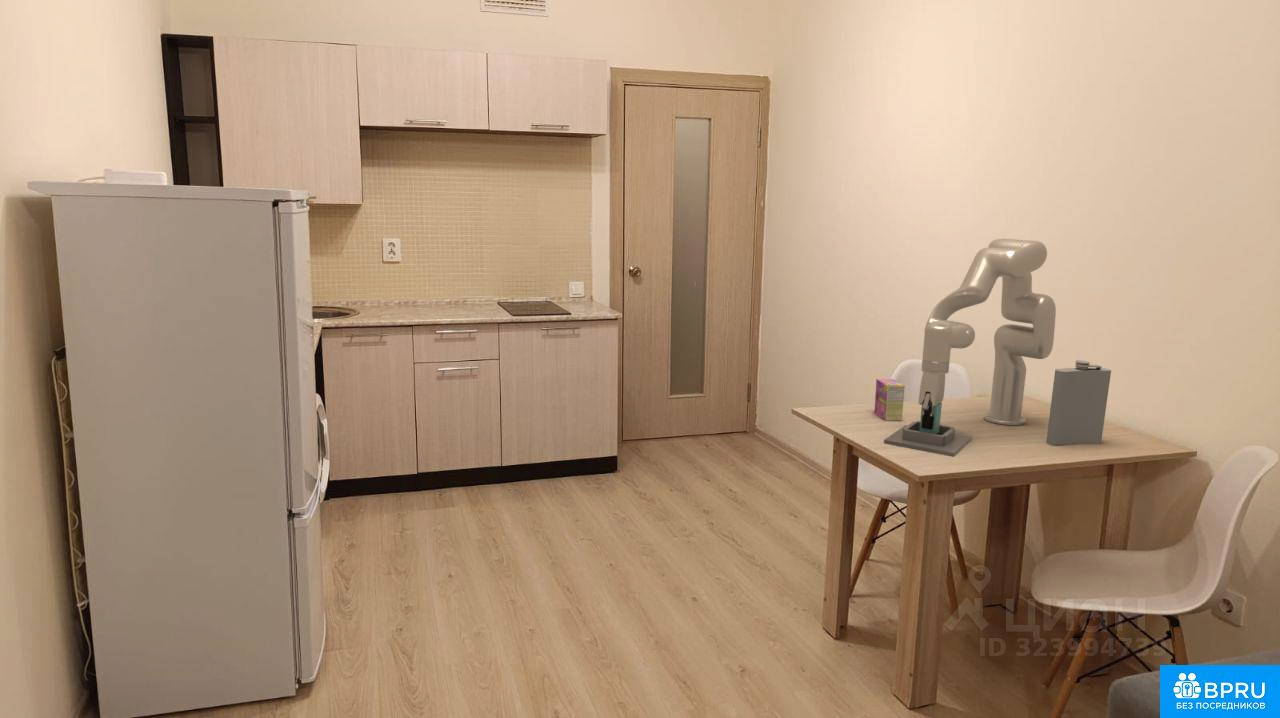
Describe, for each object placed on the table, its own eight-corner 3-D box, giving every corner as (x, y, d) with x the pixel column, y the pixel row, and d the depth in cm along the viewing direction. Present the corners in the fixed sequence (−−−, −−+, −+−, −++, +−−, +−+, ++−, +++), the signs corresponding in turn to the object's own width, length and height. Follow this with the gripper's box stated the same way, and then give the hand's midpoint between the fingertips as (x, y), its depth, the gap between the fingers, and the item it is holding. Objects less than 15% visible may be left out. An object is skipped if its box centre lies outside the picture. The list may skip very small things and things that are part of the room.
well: (905, 428, 263) (906, 415, 262) (971, 440, 252) (972, 427, 251) (883, 443, 247) (884, 429, 246) (953, 456, 236) (955, 442, 235)
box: (873, 412, 281) (876, 378, 279) (890, 412, 282) (892, 378, 279) (884, 421, 271) (887, 385, 269) (902, 421, 272) (905, 385, 269)
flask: (1092, 439, 256) (1103, 358, 251) (1103, 443, 251) (1114, 362, 246) (1041, 441, 253) (1051, 359, 248) (1051, 445, 248) (1062, 363, 243)
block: (923, 429, 252) (926, 400, 250) (939, 431, 250) (941, 402, 248) (919, 432, 249) (922, 403, 247) (934, 435, 246) (937, 405, 244)
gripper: (930, 360, 254) (925, 418, 258) (913, 369, 240) (908, 430, 244) (956, 363, 250) (950, 422, 254) (940, 373, 236) (934, 435, 240)
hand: (929, 426), depth 249 cm, fingers closed on block, 4 cm apart
